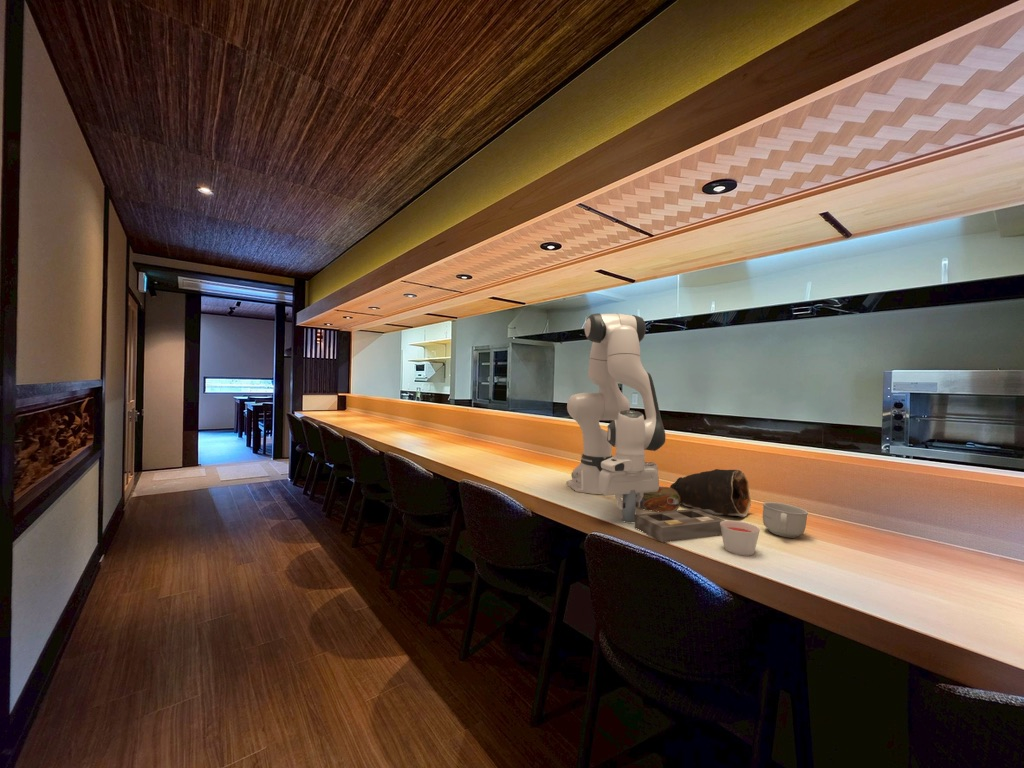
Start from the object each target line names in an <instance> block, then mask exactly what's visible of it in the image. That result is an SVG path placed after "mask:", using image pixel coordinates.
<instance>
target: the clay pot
mask: <svg viewBox="0 0 1024 768" xmlns="http://www.w3.org/2000/svg"><path fill="white" fill-rule="evenodd" d="M669 487H670V488H672V489H674V490H675V491H677V493H678V494H679V496H680V505H682V506H684V507H688V508H691V509H697V510H700V511H702V512H705V513H707V514H710V515H713V516H733V517H740V518H745V517H747V515H748V512H749V510H750V508H751V506H752V505H751V503H752V499H751V494H750V488H749V487H750V486H749V480H748V479H747V477H746V475H745V473H744V472H743V471H742V470H739V469H719V468H715V469H711V470H706V471H701V472H698V473H693V474H688V475H686V476H683V477H682V476H681V477H678V478H677V479H676V480H675V482H673V483H672V484H671V485H670V486H669Z"/></svg>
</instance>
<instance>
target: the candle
mask: <svg viewBox="0 0 1024 768" xmlns="http://www.w3.org/2000/svg"><path fill="white" fill-rule="evenodd" d="M720 526H721V532H722V535H721V536H722V542H723V548H724V549H725V550H726V551H727V552H729V553H731V554H734V555H740V556H752V555H754V554H755V551H756V548H757V544H758V540H759V539H758V538H759V535H760V532H761V531H760V529H761V528H760V527H758V526H757V525H755V524H752V523H748V522H745V521H741V520H740V521H739V520H731V519H730V520H725V521H722V522H720Z"/></svg>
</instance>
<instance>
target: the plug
mask: <svg viewBox="0 0 1024 768" xmlns="http://www.w3.org/2000/svg"><path fill="white" fill-rule="evenodd" d="M621 500H622V502H624V503H625V508H624V509H621V521H622V520H623V521H625V522H624V523H626V522H635V514H637V511H636V509H637V507H636V493H635V490H631V492H630V494H623V498H621ZM623 521H622V522H623Z"/></svg>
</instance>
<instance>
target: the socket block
mask: <svg viewBox="0 0 1024 768" xmlns="http://www.w3.org/2000/svg"><path fill="white" fill-rule="evenodd" d="M722 521H726V520H725V519H722V518H721V517H718V516H716V515H713V514H710V513H706V512H703V511H700V510H698V509H695V508H689V509H688V508H687V509H686V508H685V509H677V510H675V511H664V512H656V511H653V512H646V513H643V512H642V513H636V514H635V523H634V529H636V528H637V530H638V529H639V530H638V531H640V530H641V531H640V532H642V531H643V532H642V533H643V534H645V533H646V534H645V535H648V536H649V537H651V538H653V539H655V540H657V541H658V542H660V543H669V542H670V541H671V542H677V541H679V542H680V541H685V540H694V539H702V538H708V537H709V538H710V537H711V538H712V537H717V536H722V532H721V526H720V522H722ZM671 542H670V543H671Z"/></svg>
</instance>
